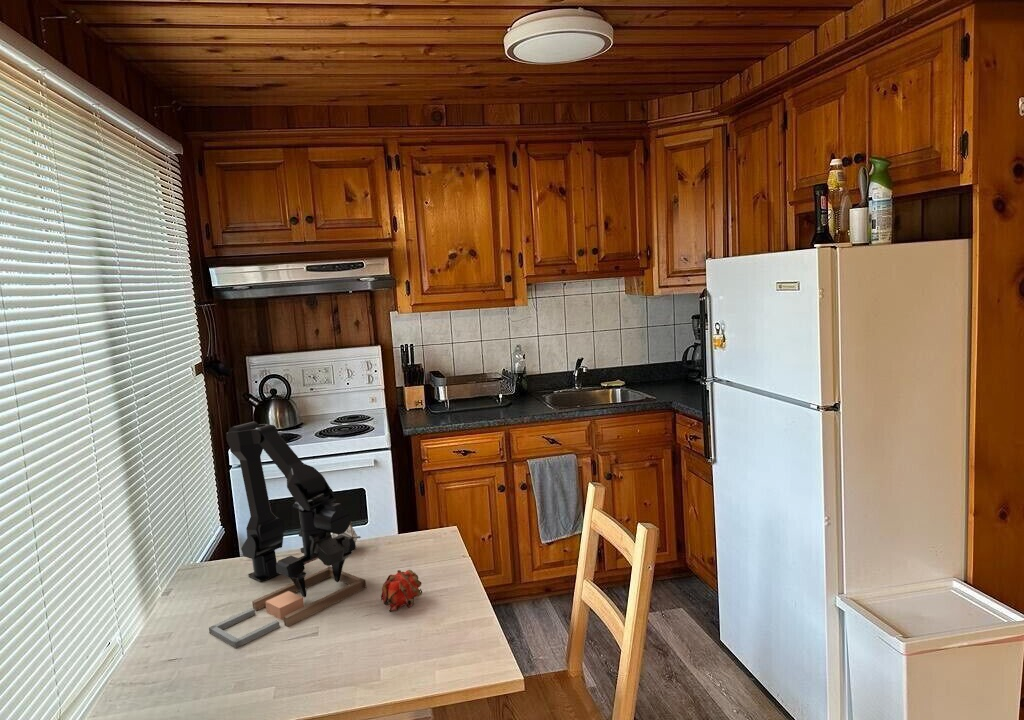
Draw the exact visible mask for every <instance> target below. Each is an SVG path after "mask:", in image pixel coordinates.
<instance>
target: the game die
mask: <svg viewBox="0 0 1024 720" xmlns="http://www.w3.org/2000/svg"><path fill="white" fill-rule="evenodd" d="M352 524H353V521H350V525H349V527H348V529H347V530H346V531H345V532H344V533H343V534H334V533H331V536H332V538H334V537H337V536H339V535H344V536H347V537H350V538H353V539H354V540H355V542H357V541H358V539H360V538H362V537H361V535H359V536H358V534H357V533H356V531H355V529H354V528H353V525H352Z"/></svg>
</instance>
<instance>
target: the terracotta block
mask: <svg viewBox="0 0 1024 720" xmlns="http://www.w3.org/2000/svg"><path fill="white" fill-rule="evenodd" d="M265 603H266V606H265V609H266V613H267V614H269V615H271V616H272V617H275V618H277V619H279V620H281V621H282V620H284V616H286V615H288V614H290V613H292V612H294V611H296V610H298V609H300V608H302V607H304V606H305V602H304V597H303V596H302V595H300V594H299V595H298V594H297V593H292V592H290V591H287V592H285V593H283V594H281V595H278V596H276V597H274V598H272V599H270V600H267V601H265Z"/></svg>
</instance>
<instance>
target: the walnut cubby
mask: <svg viewBox="0 0 1024 720" xmlns="http://www.w3.org/2000/svg"><path fill="white" fill-rule="evenodd" d="M328 578H331V579H334V580H335V578H334V575H333V570H332V566H327V567H326V568H324V569H321V570H319V571H317V572H314V573H313V574H309V575H308V576H305V577H304V580H305V586H306V589H307V588H309V587H311V586H313V585H315V584H317V583H320V582H322V581H324V580H327V579H328ZM339 582H341V583H344V584H347V585H346V586H344V587H342V588H340V589H338V590H336V591H333V592H332V593H329V594H327V595H325V596H323V597H322V598H319V599H318V600H315V601H314V602H311V603H308V604H307V605H304V607H302V608H300V609H298V610H296V611H294V612H292V613H290V614H288V615H286V616H284V619H283V622H284V623H283V624H284V627H285V626H286V627H290V626H292V625H294V624H297V622H300V621H302V620H304V619H306V618H308V617H310V616H312V615H314V614H316V613H318V612H320V611H322V610H325V609H326V608H328V607H330V606H333V605H334V604H336V603H338V602H340V601H343V600H345V599H347V598H349V597H350V596H353V595H355V594H356V593H358V592H361V591H363V590H364V589H367V581H366V579H364V578H361V577H359V576H357V575H354V574H352V573H348V572H346V571H344V570H342V572H341V576H340V580H339ZM287 591H290V592H292V593H295V594H297V593H298V592H299V590H298V589H297V587H296V585H295V584H294V582H291V583H289V584H288V585H284V586H283V587H281V588H278V589H276V590H275V591H271V592H270V593H267V594H264V595H263V596H261V597H259V598H256V599H253V600H252V601H251V602H252V608H253V609H255V612H256V611H258V610H261V609H263V608H264V607H265V608H266V603H265V601H267V600H270V599H272V598H274V597H276V596H278V595H281V594H283V593H285V592H287Z"/></svg>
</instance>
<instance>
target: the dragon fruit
mask: <svg viewBox="0 0 1024 720" xmlns="http://www.w3.org/2000/svg"><path fill="white" fill-rule="evenodd" d="M396 571H397V572H396V574H389V575H388V577H387V578H386V580H385V582H384V583H383V584H382V587H381V591H382V593H381V595H380V600H381V602H383V604H384V605H385V606H386V607H389V610H388V611H389V613H391V612H393V611H399V610H401V609H402V607H403V606H404V605H405V606H406V607H408V608H409V609H410V608H411V607H412V606H413V605H415V597H420V596H422V595H423V589H422V588H420V587H421V586H422V583H423V582H422V581H421V580H419V576H418V574H416V573H415V572H413V570H411V569H408V570H405V571H401V570H400V569H397V570H396Z"/></svg>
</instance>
